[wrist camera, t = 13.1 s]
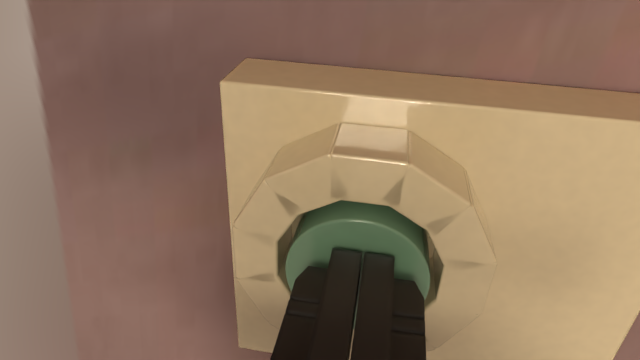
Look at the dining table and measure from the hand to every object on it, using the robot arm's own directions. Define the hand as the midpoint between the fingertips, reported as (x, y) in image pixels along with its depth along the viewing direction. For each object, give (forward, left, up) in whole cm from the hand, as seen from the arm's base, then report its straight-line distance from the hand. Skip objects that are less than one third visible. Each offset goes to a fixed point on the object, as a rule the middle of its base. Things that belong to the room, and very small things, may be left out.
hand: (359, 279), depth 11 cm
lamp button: (0, 0, -2) cm, 2 cm away
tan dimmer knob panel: (+2, -1, -4) cm, 5 cm away
